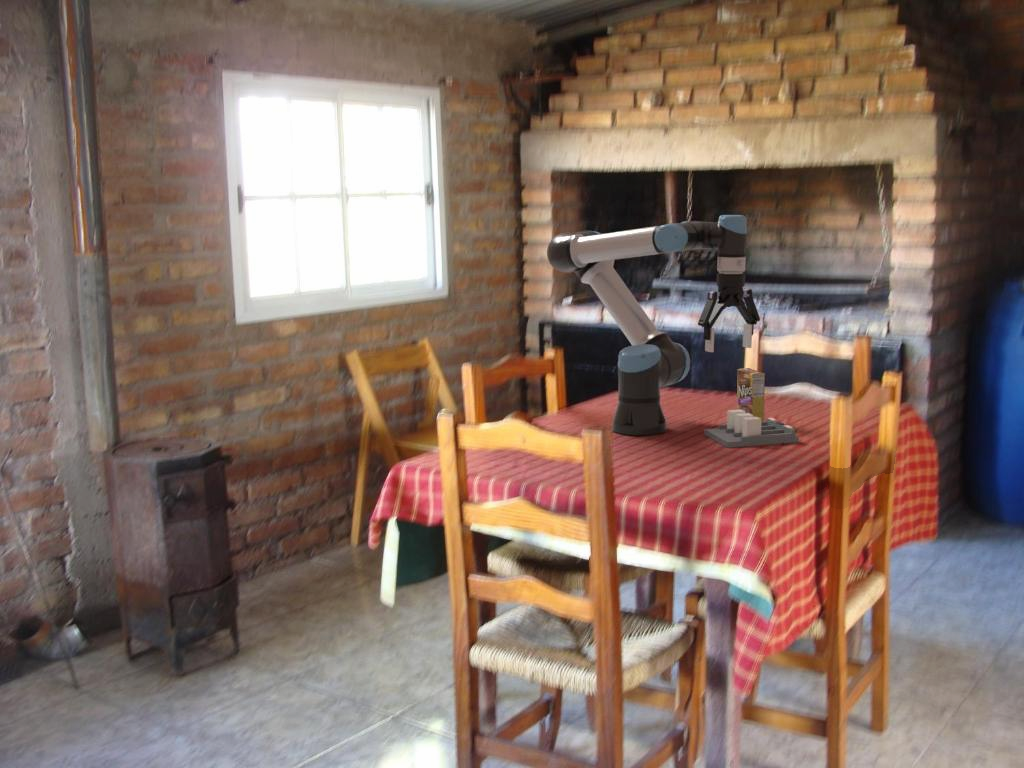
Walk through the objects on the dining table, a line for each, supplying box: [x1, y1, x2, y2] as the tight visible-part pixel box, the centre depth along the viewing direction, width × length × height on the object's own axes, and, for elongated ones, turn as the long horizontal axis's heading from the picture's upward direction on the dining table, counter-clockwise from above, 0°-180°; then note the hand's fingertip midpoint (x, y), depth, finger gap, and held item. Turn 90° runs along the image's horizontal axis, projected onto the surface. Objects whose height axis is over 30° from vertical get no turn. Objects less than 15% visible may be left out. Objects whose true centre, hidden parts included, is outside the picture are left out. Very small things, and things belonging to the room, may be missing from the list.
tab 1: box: [726, 409, 746, 428], centre depth 299 cm, size 4×3×5 cm
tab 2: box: [735, 413, 753, 432], centre depth 295 cm, size 4×3×5 cm
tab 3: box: [742, 417, 761, 436], centre depth 290 cm, size 4×3×5 cm
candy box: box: [736, 367, 766, 422], centre depth 313 cm, size 9×4×15 cm, turn 17°
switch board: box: [704, 417, 800, 449], centre depth 295 cm, size 20×16×4 cm
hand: (728, 349), depth 303 cm, fingers open, 13 cm apart
